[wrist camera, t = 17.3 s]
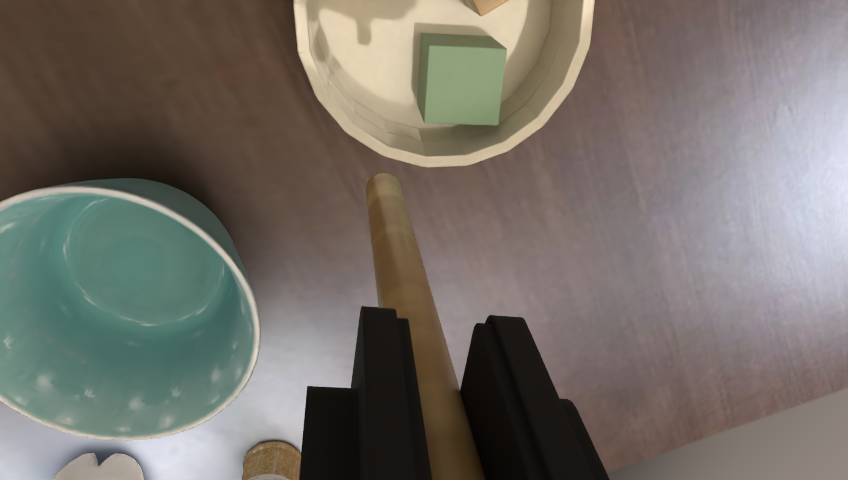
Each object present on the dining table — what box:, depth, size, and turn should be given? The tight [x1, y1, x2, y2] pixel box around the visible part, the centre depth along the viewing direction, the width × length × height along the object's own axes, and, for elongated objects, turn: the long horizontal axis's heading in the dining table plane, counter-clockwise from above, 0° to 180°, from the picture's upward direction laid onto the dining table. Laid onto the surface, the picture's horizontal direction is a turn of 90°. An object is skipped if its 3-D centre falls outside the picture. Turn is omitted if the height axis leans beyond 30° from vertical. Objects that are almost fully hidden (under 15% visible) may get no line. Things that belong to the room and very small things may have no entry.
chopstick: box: [366, 173, 486, 480], centre depth 14 cm, size 1×1×18 cm
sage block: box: [417, 33, 507, 126], centre depth 35 cm, size 4×4×4 cm
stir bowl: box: [293, 0, 595, 167], centre depth 33 cm, size 14×14×6 cm
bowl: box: [0, 178, 261, 441], centre depth 37 cm, size 16×16×8 cm
